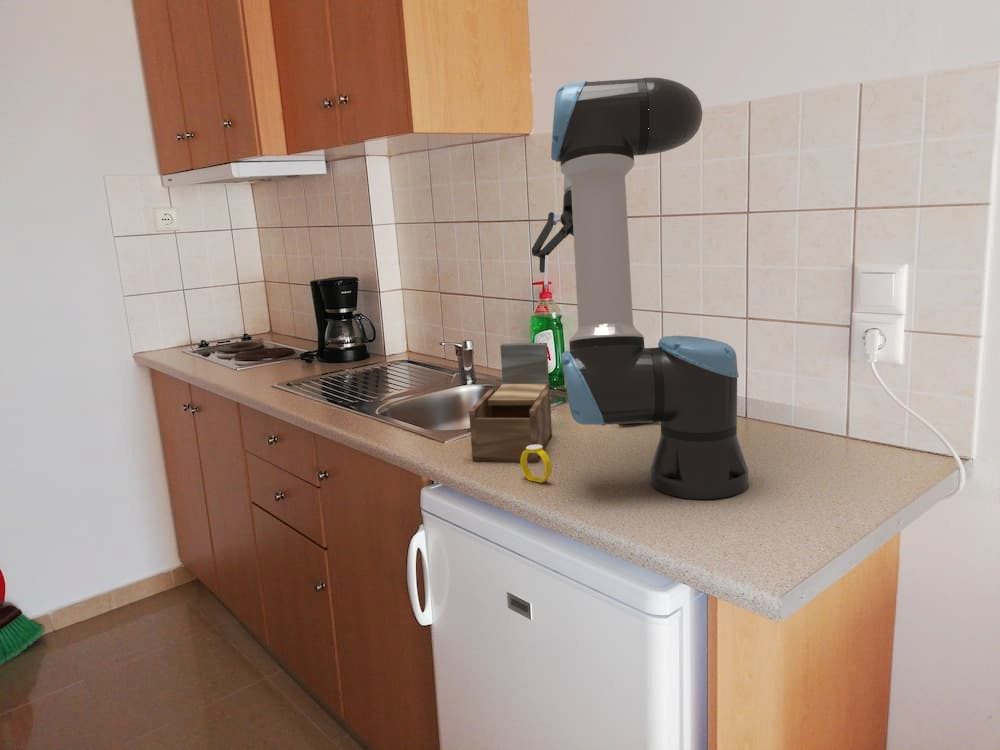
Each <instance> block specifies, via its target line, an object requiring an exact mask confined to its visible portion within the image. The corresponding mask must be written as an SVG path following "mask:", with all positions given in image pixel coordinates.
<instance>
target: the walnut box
mask: <svg viewBox="0 0 1000 750" xmlns="http://www.w3.org/2000/svg"><path fill="white" fill-rule="evenodd" d="M550 389H551V388H547V389H544V390H543V392H542V393H541V395H540V396H539V397H538V399H537V400H536V402H535V403H534V405H488V399H489V398H490V397H491V396H492V395H493V394H494V393H495V392H496V389H495V388H489V389H488V391H487V390H486V392H485V393H484V394H483V395H482V397H481V398H479V400H478V401H477V402H475V403H474V405H473V406H472V407H470V409H469V410H468V415H469V416H468V418H469V430H470V442H471V458H472V462H473V463H474V462H475V463H477V462H480V463H521V461H520V459H521V455H522V453H523V451H525V450H526V447H527V446H529V445H535V444H537V445H542V446H543V450H544V451H545V450H546V448H547V446H548V444H549V442H550V441H551V439H552V437H553V432H552V411H551V409H552V408H551V407H552V406H551V394H550V393H551V390H550ZM540 459H541V457H540V456H539V455H538V454H537V453H529V454H528V456H527V463H529V464H530V463H533V464H534V463H535V464H537V463H539V461H540Z"/></svg>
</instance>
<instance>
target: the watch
mask: <svg viewBox="0 0 1000 750" xmlns="http://www.w3.org/2000/svg"><path fill="white" fill-rule="evenodd" d="M529 453H537V454H538V455H539V456H540V459H541V461H542V463H543V465H544V475H543V477H537V476H535V475H534V474H533V473H532V472H531V471H530V470H531V469H530V468H529V465H528V462H527V456H528V454H529ZM520 461H521V462H520V468H521V471H522V473H523V476H525V478H526V479H527V480H528V481H530V482H531V481H532V482H537V483H540V484H541V483H544V482H547V481H548V480H549V478H550V477H551V476H552V472H553V470H552V469H553V468H552V461H551V459H550V457H549V455H548V454H547V452H546V451H545V450H543V446H542V445H537V444H535V445H529V446H527V447H526V450H525V451H523V453H522V455H521V459H520Z"/></svg>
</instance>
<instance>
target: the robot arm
mask: <svg viewBox="0 0 1000 750" xmlns="http://www.w3.org/2000/svg"><path fill="white" fill-rule="evenodd" d="M554 100H555V101H554V106H553V107H554V108H553V109H554V110H553V121H552V122H553V123H552V134H551V135H552V138H551V148H550V149H551V151H550V157H551V160H552V161H555V162H556V163H558V162H559V163H560V172H561V173H562V174H563V175H564V176H563V200H562V201H563V205H562V207H563V208H562V214H561V215H560V214H555V213H554V212H553V211H551V212H549V213H548V215H547V221H546V223H545V225H544V227H543V229H542V230H541V232H540V234H539V235H538V237H537V239H536V241H535V242H534V243H533V244H534V245H533V246H532V248H531V255H532V256H533V257H538V258H539V267H538V268H539V272H540V273H543V274H544V276H543V277H544V279H543V283H544V284H543V289H545V290H548V289H549V271H550V270H549V267H550V257H549V256H550V254H551V253H552V252H553V251H554V250H555V249H556V247H558V246H559V245H560V243H562V241H564V239H566V238H567V237H568V236H569V235H571V236H572V237H573V246H574V247H573V248H574V249H573V250H574V266H575V267H574V269H575V270H574V271H575V287H576V288H575V289H576V304H577V305H576V307H577V328H578V329H577V331H576V332H575V333H574V334H573V335H572V337H571V338H570V339H569V350H565V351H564V352H562V353H561V355H560V359H561V364H562V371H563V376H564V377H563V378H564V383H565V384H564V385H565V390H566V394H567V398H568V400H567V401H568V404H569V409H570V413H571V416H572V419H573V420H574V421H575V422H576V423H578V424H579V425H584V426H587V425H588V426H589V425H593V426H594V425H599V426H600V425H601V426H602V427H604V426H606V425H607V426H608V425H625V424H626V425H627V424H628V425H629V424H644V423H647V424H648V423H660V437H659V441H658V444H657V446H656V450H655V454H654V456H653V459H652V462H651V466H650V471H649V472H650V484H651V486H652V487H653V488H654V489H656V491H659V492H661V493H663V494H665V495H669V496H673V497H677V498H684V499H691V500H713V499H714V500H717V499H723V498H729V497H731V496H735V495H738V494H741V493H742V492H744V491H746V490H747V488H748V487H749V468H748V466H747V463H746V459H745V457H744V454H743V451H742V448H741V445H740V442H739V439H738V428H737V427H738V378H739V371H738V359H737V353H736V351H735V349H734V348H733V346H731V345H730V344H729V343H726V342H723V341H721V340H717V339H712V338H708V337H707V338H706V337H699V336H689V335H671V336H670V335H669V336H667V335H666V336H662V337H661V338H660V339H659V341H658V343H657V347H645V336H644V335H643V334H642V333H641V332H640V331H639V330H638V329H636V327H635V326H634V315H633V300H632V284H631V283H632V279H631V278H632V277H631V262H630V246H629V245H630V244H629V228H628V227H629V224H628V223H629V222H628V209H627V208H628V207H627V188H626V185H627V184H626V175H628V174H629V172H630V171H631V170H632V169H633V168H634V166H635V156H647V155H655V154H659V153H664V152H667V151H671V150H674V149H676V148H678V147H681V146H683V145H685V144H687V143H688V142H690V141H691V140H692V139H693V138H694V136H695V135H696V134H697V133H698V131H699V129H700V127H701V125H702V120H703V108H702V103H701V101H700V99H699V97H698V96H697V94H696V93H695V92H694V91H693V90H692V89H691V88H690V87H688V86H686V85H684V84H682V83H680V82H677V81H675V80H671V79H668V78H663V77H642V78H628V79H627V78H626V79H614V80H613V79H612V80H597V81H587V80H584V81H582V82H577V83H567V84H563V85H561V86H560V87H559V88H558V89H557V91H556V94H555V99H554ZM648 109H649V110H648ZM648 128H649V129H648ZM559 222H560V223H561V225H562V227H561V228H560V229H559V231H558V232H557V233H556V234H555V235H554V236H553V237H552V238H551V239H550V241H548V243H546V245H544V244H545V242H546V240H547V239H548V237H549V235H550V233H551V232H552V231H553V228H554V226H556V225H557V224H558V223H559ZM543 245H544V247H543Z"/></svg>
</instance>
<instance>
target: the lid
mask: <svg viewBox="0 0 1000 750" xmlns="http://www.w3.org/2000/svg"><path fill="white" fill-rule="evenodd" d="M548 357H549V356H548V343H547V342H525V343H523V342H522V343H518V342H517V343H501V345H500V359H501V360H500V361H501V375H502V384H501V385H500V386H499V387H498V389H497V390H495V393H494V394H493V395H492V396H491V397H490V398H489V399H488V405H534V403H535V402H536V400H537V399H538V397H539V396H540V395H541V393H542V392H543V390H544V389H549V387H550V381H549V361H548V360H549V359H548Z"/></svg>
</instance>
